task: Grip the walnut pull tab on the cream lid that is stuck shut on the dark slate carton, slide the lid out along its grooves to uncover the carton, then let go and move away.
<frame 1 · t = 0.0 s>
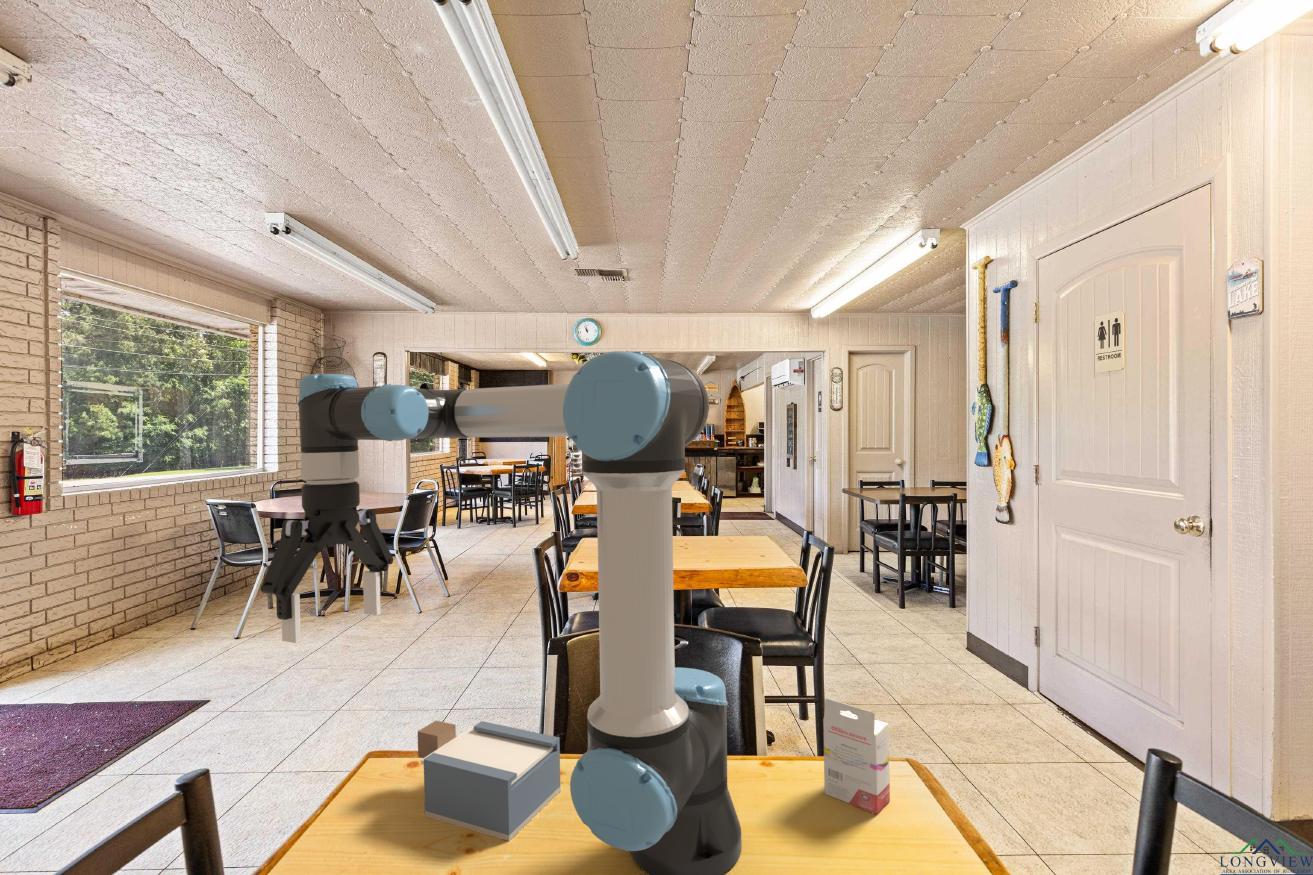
hand: (334, 626, 93), 28 cm above the table, tool pointing down, fingers open, 13 cm apart
lid: (477, 750, 98), point 8 cm above the table, slide at 0.0 cm
ink cartridge box: (856, 798, 97), on the table
carton: (494, 803, 97), on the table
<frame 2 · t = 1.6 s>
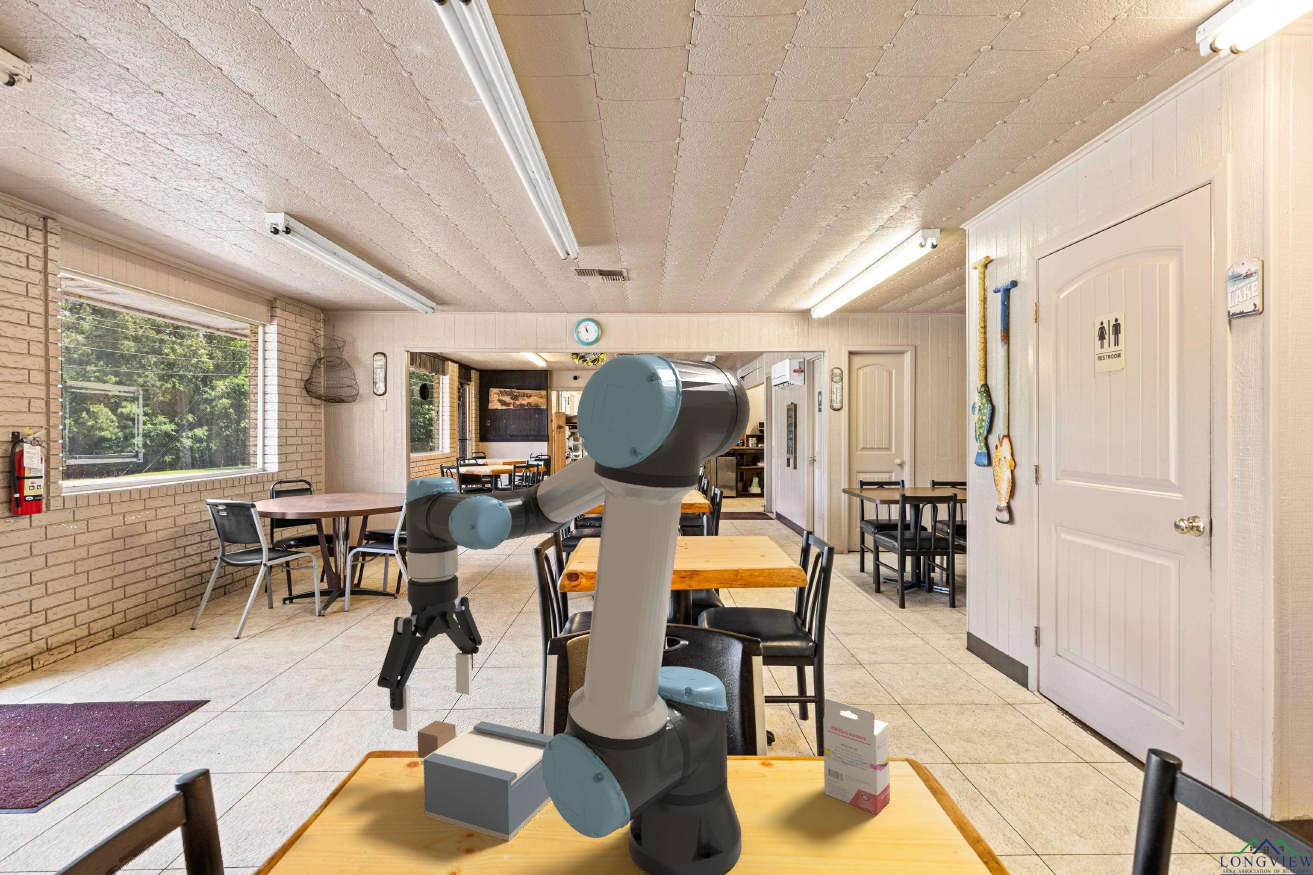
hand: (435, 709, 101), 12 cm above the table, tool pointing down, fingers open, 13 cm apart
nothing on the table moved.
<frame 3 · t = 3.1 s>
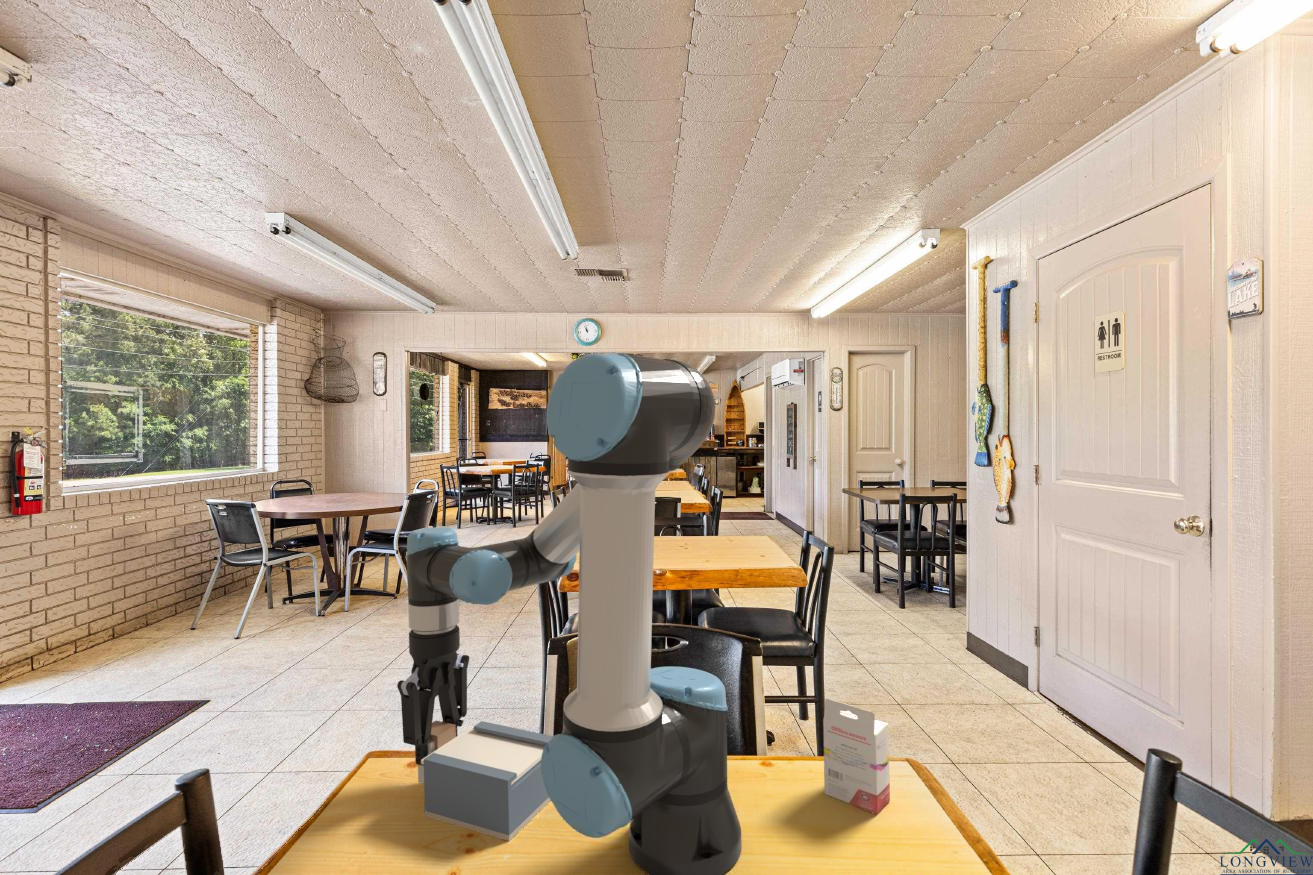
hand: (437, 774, 101), 2 cm above the table, tool pointing down, fingers closed on lid, 4 cm apart
lid: (477, 750, 98), point 8 cm above the table, slide at 0.0 cm, touching gripper
everything else where it was.
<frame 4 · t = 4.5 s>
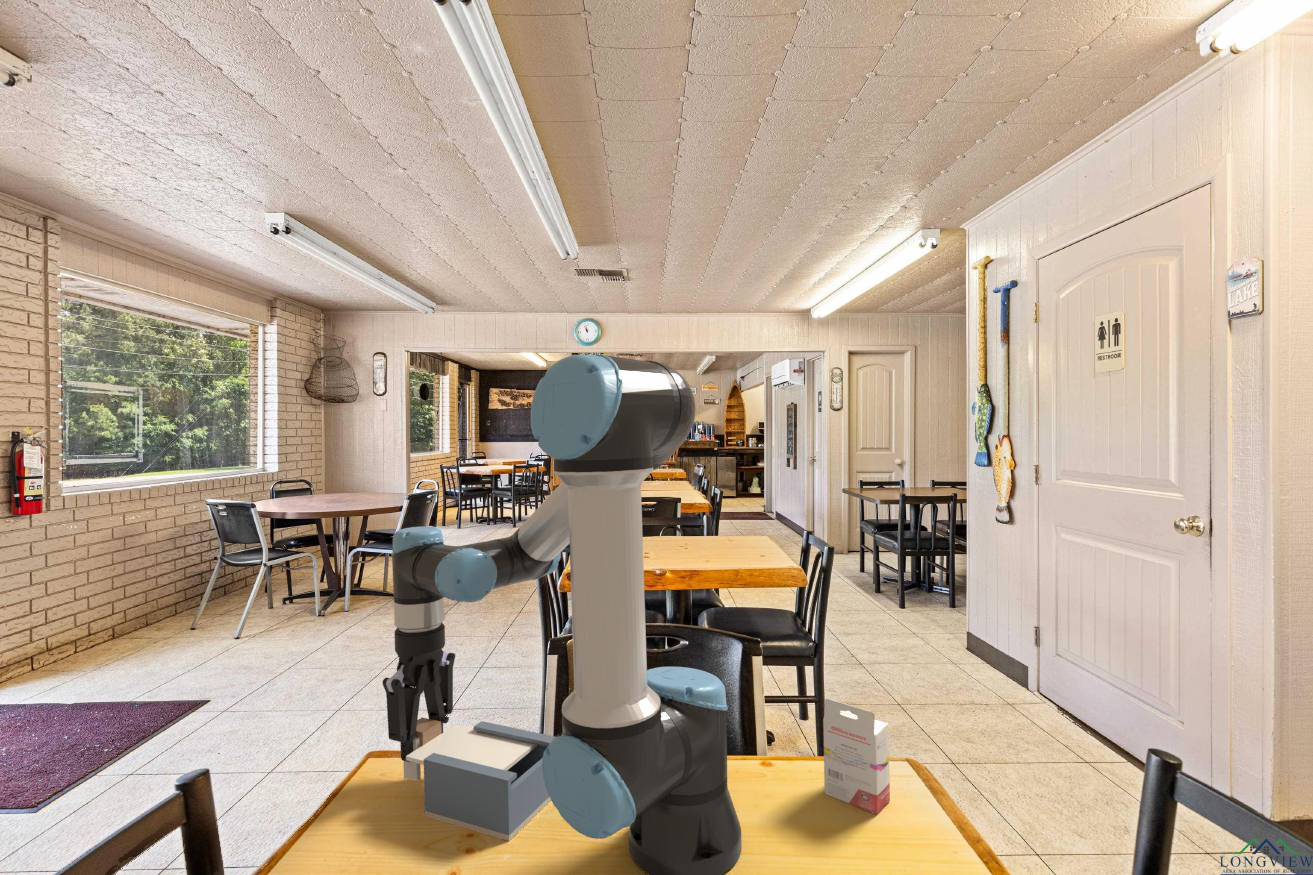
hand: (423, 770, 102), 2 cm above the table, tool pointing down, fingers closed on lid, 4 cm apart
lid: (462, 746, 99), point 8 cm above the table, slide at 3.0 cm, touching gripper
everything else where it was.
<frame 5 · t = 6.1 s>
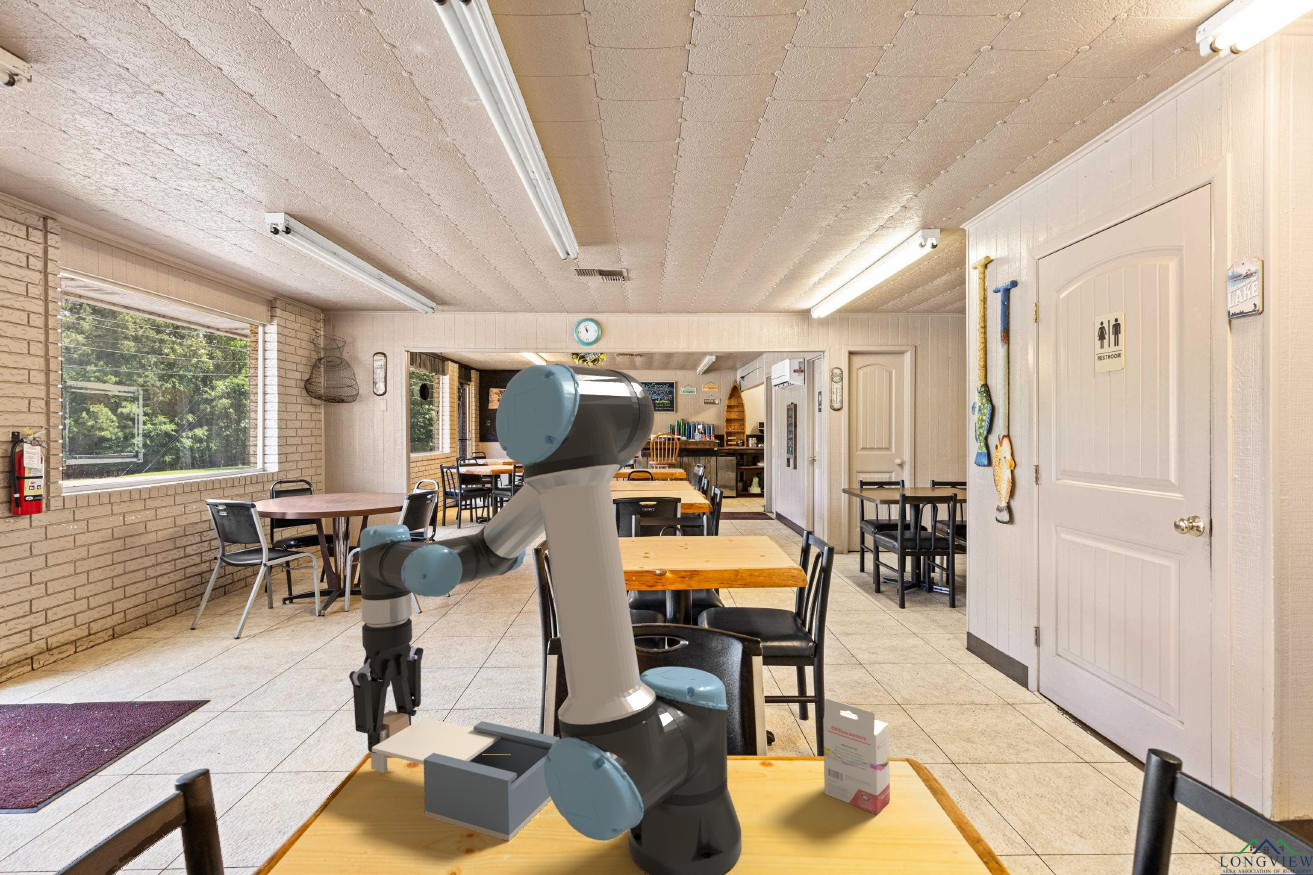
hand: (390, 761, 105), 2 cm above the table, tool pointing down, fingers closed on lid, 4 cm apart
lid: (427, 738, 102), point 8 cm above the table, slide at 9.9 cm, touching gripper
everything else where it was.
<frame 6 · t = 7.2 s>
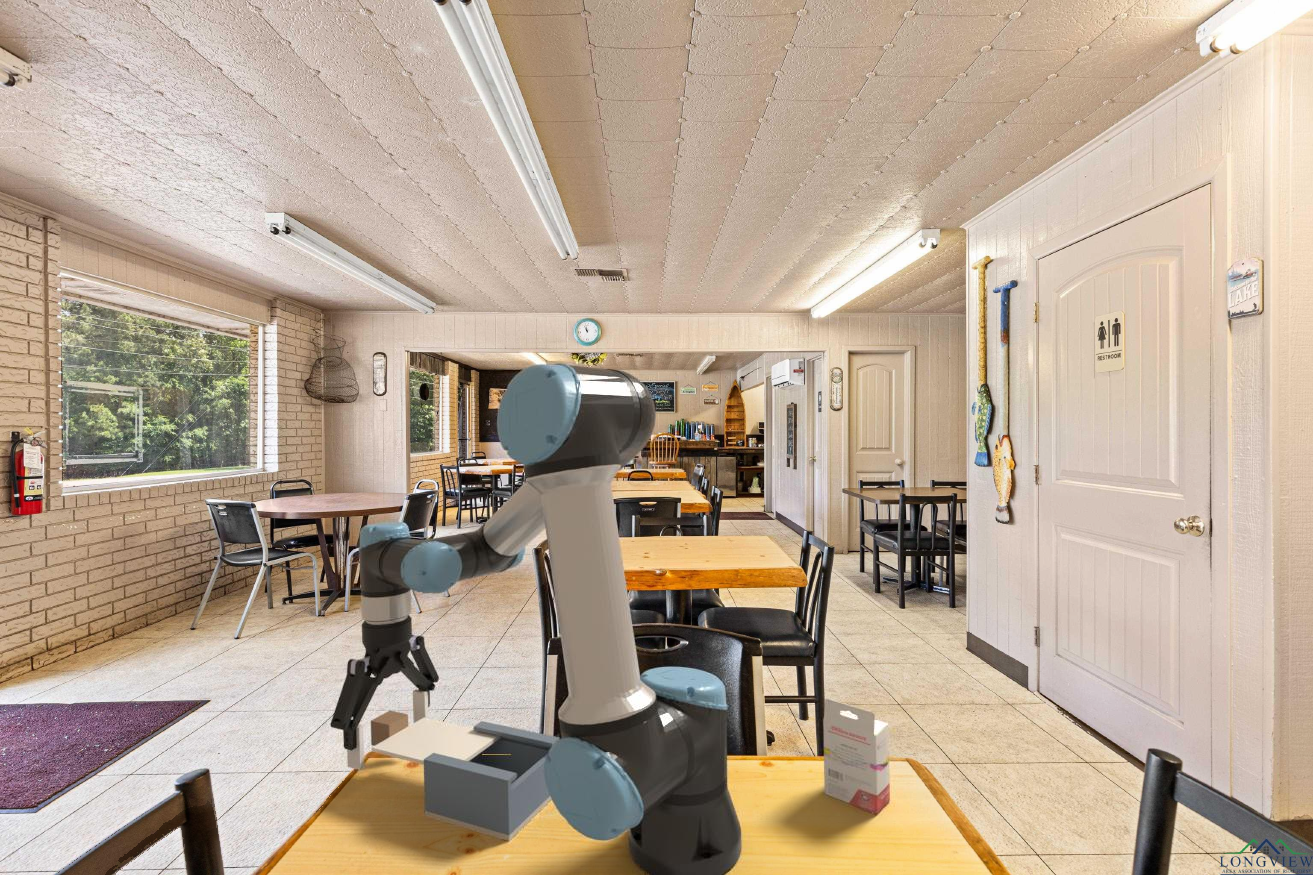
hand: (390, 746, 105), 5 cm above the table, tool pointing down, fingers open, 13 cm apart
lid: (427, 738, 102), point 7 cm above the table, slide at 9.9 cm
everything else where it was.
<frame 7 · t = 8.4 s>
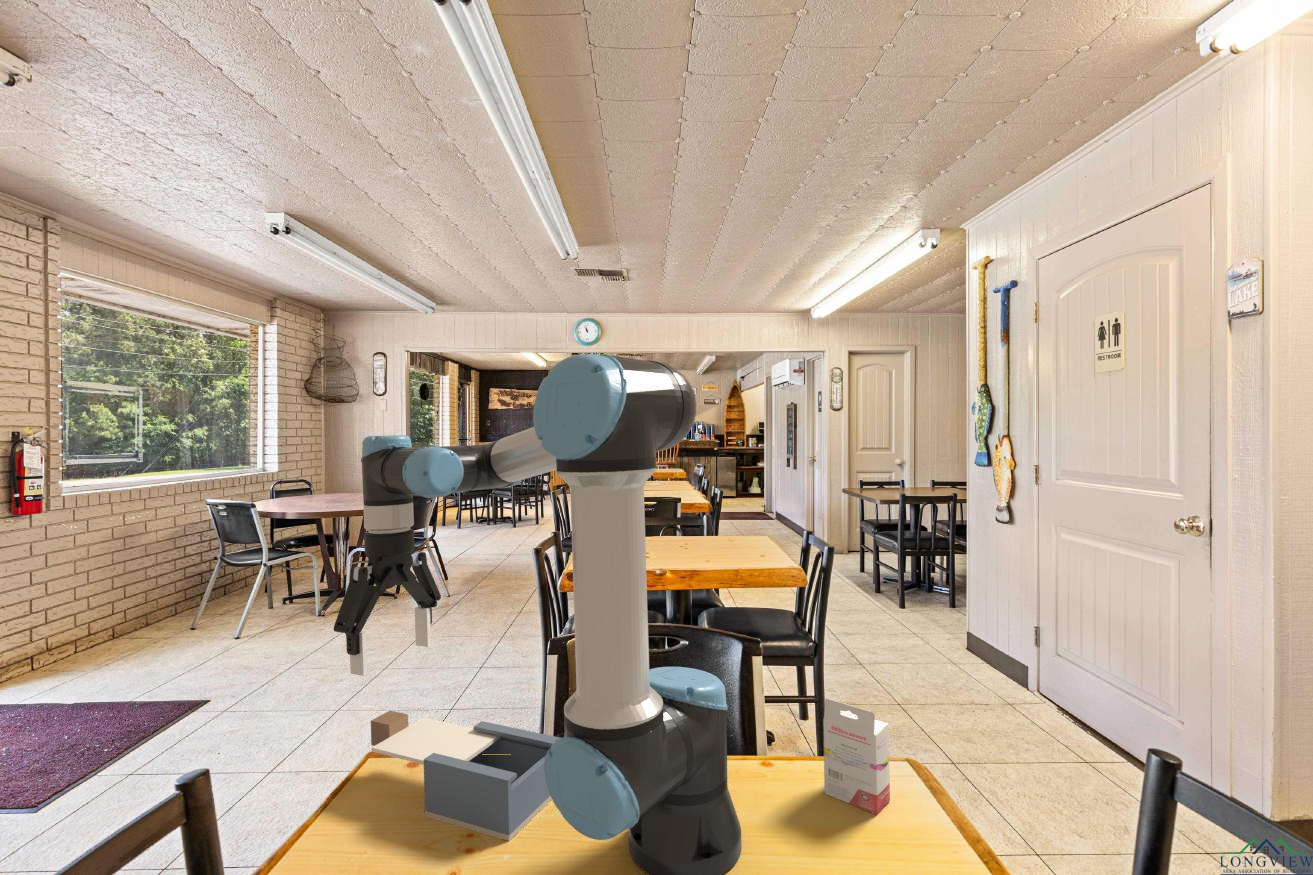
hand: (393, 659, 105), 19 cm above the table, tool pointing down, fingers open, 13 cm apart
nothing on the table moved.
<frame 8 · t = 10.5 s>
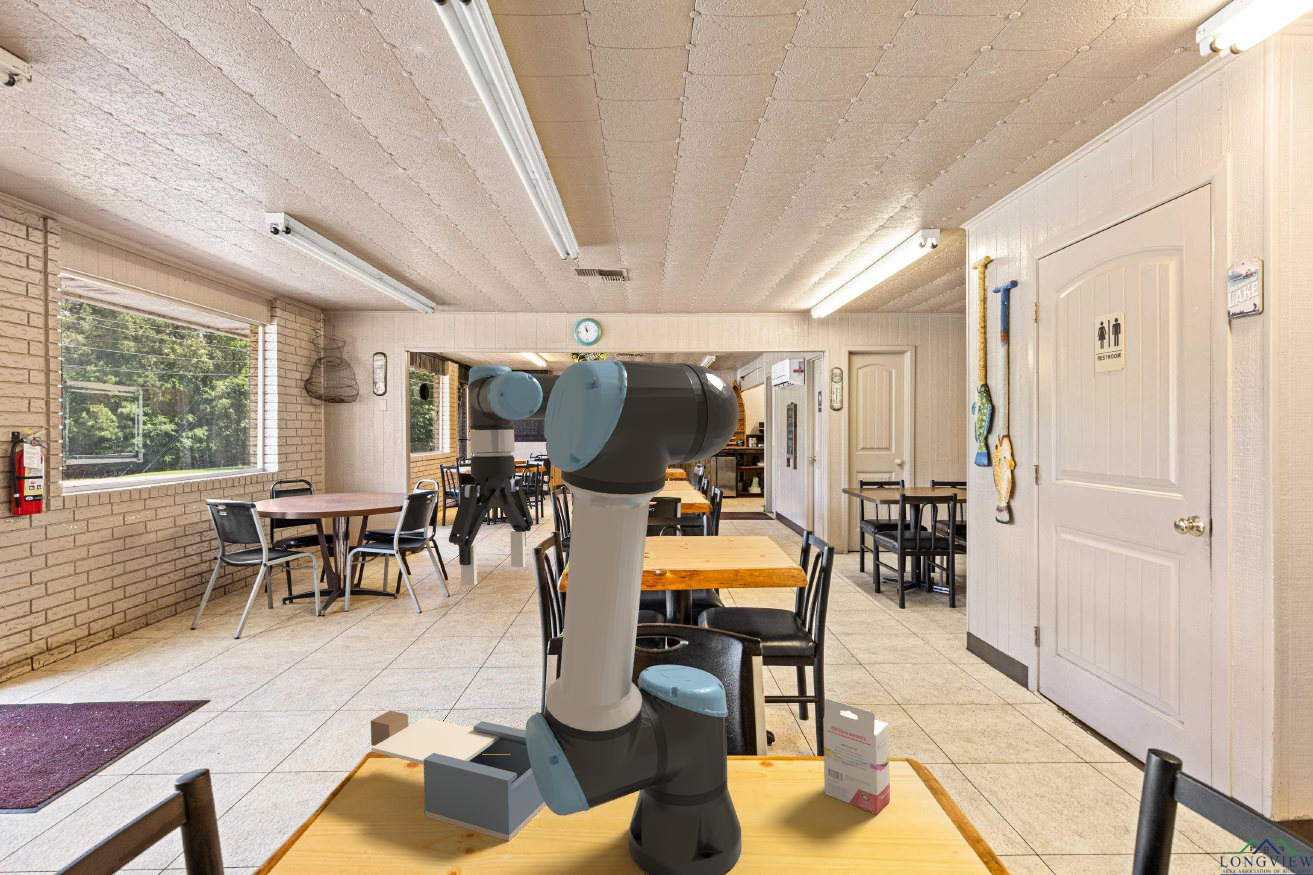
hand: (495, 574, 113), 31 cm above the table, tool pointing down, fingers open, 13 cm apart
nothing on the table moved.
at the end: lid slide at 9.9 cm; the gripper is holding nothing; ink cartridge box moved 0.3 cm from its start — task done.
